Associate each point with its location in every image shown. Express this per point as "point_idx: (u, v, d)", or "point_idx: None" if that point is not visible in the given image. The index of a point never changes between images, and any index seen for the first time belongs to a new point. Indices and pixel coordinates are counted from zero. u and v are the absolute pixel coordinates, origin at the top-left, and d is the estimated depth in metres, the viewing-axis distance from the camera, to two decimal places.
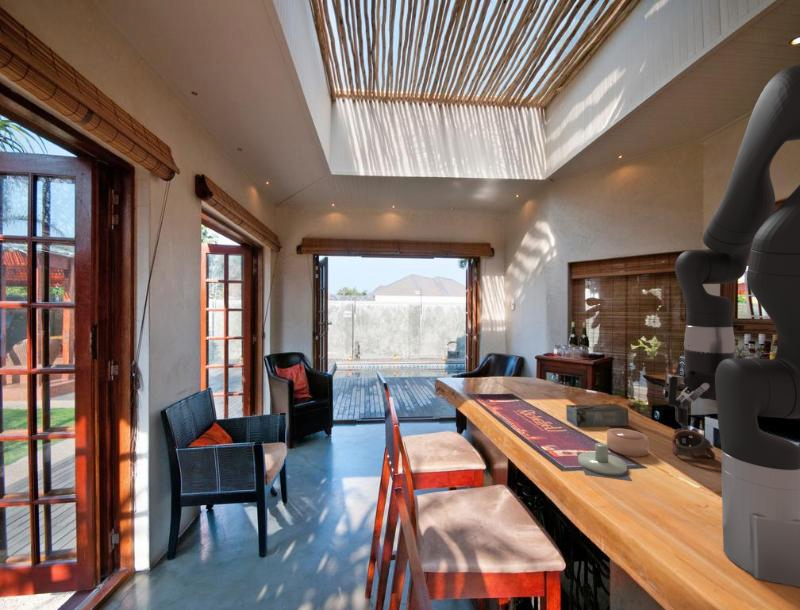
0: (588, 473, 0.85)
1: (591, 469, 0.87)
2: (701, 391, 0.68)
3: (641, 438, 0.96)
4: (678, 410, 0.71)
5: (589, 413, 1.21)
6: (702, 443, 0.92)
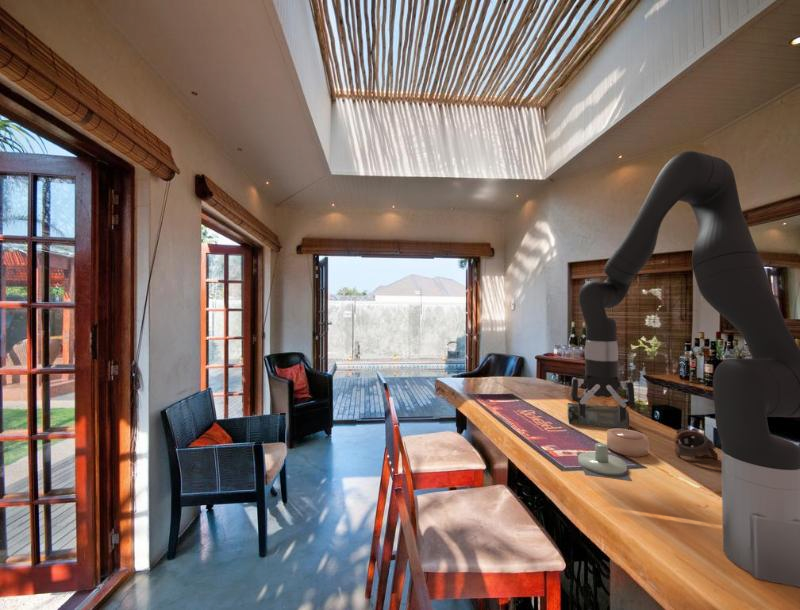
0: (588, 473, 0.85)
1: (591, 469, 0.87)
2: (594, 390, 0.89)
3: (641, 438, 0.96)
4: (579, 405, 0.91)
5: None
6: (705, 443, 0.91)
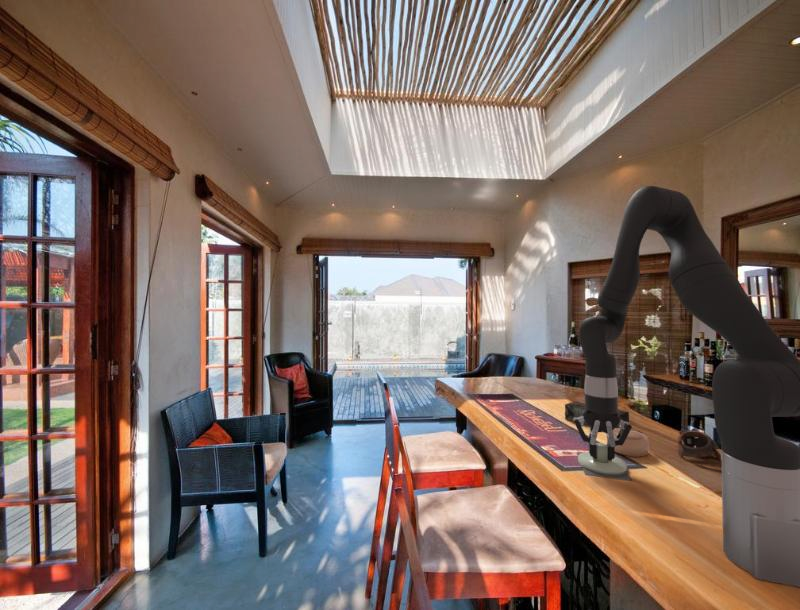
0: (588, 473, 0.85)
1: (591, 469, 0.87)
2: (597, 427, 0.89)
3: (641, 438, 0.96)
4: (590, 446, 0.90)
5: (577, 409, 1.25)
6: (708, 444, 0.91)
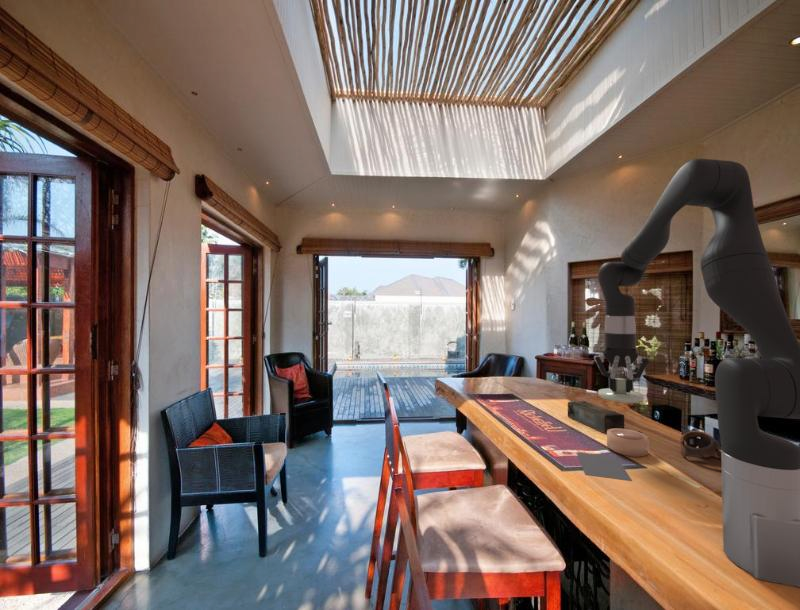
0: (588, 473, 0.85)
1: (611, 399, 0.95)
2: (617, 362, 0.97)
3: (641, 438, 0.96)
4: (610, 380, 0.99)
5: (575, 407, 1.28)
6: (711, 444, 0.91)
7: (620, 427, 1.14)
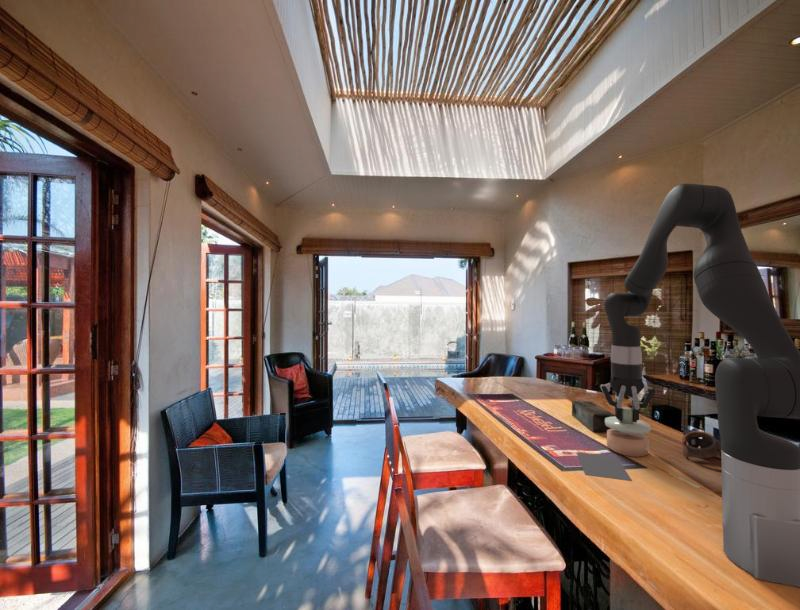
0: (588, 473, 0.85)
1: (618, 429, 0.96)
2: (623, 392, 0.98)
3: (641, 438, 0.96)
4: (616, 409, 1.00)
5: (576, 406, 1.29)
6: (714, 444, 0.90)
7: (611, 428, 1.14)
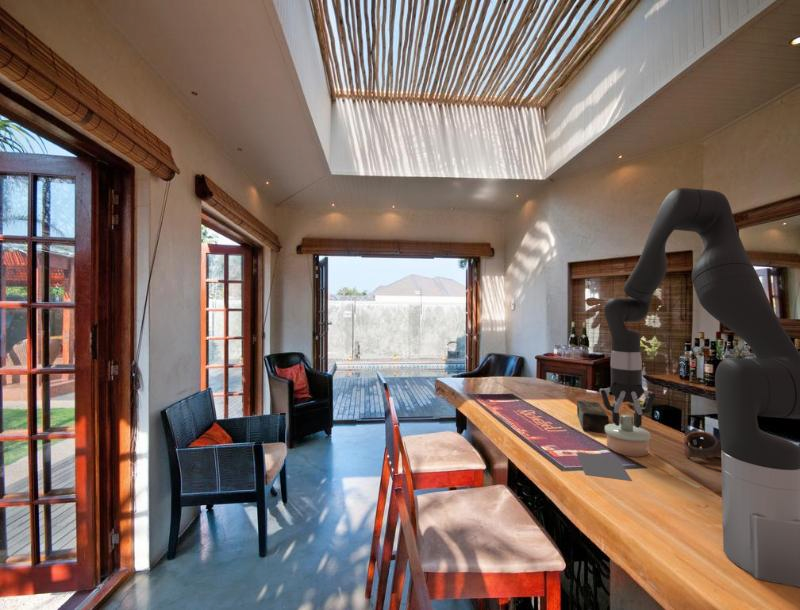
0: (588, 473, 0.85)
1: (618, 436, 0.96)
2: (622, 397, 0.98)
3: None
4: (613, 414, 1.00)
5: (578, 406, 1.30)
6: (716, 445, 0.90)
7: (602, 427, 1.14)
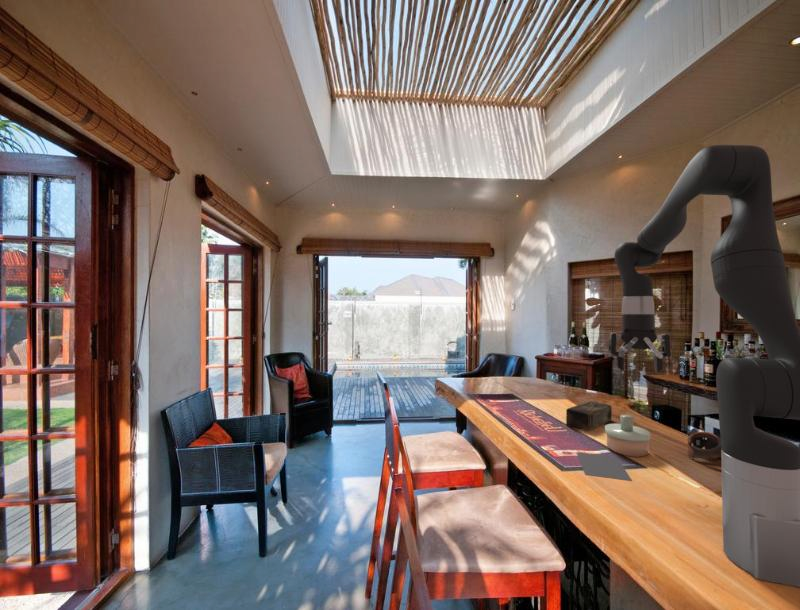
0: (588, 473, 0.85)
1: (618, 437, 0.96)
2: (632, 343, 0.95)
3: None
4: (617, 358, 0.97)
5: None
6: (719, 445, 0.90)
7: (581, 424, 1.17)
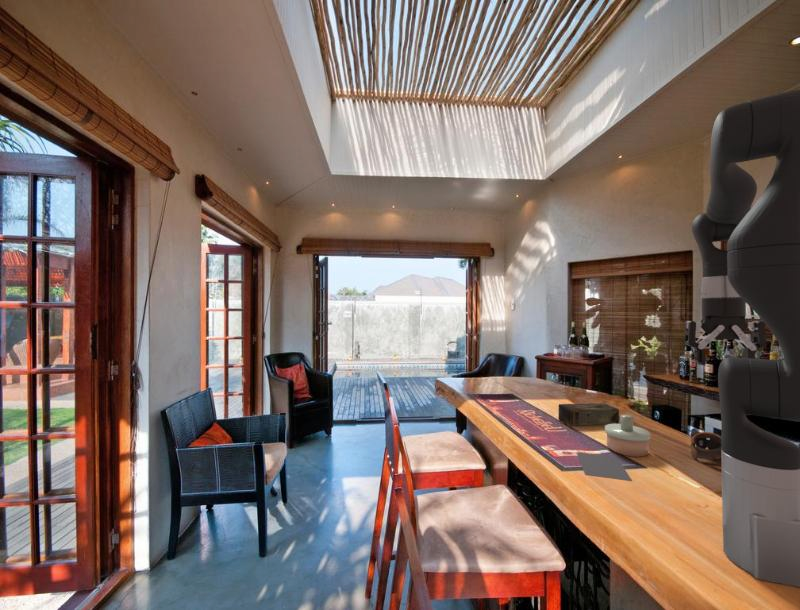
0: (588, 473, 0.85)
1: (618, 437, 0.96)
2: (717, 332, 0.79)
3: None
4: (697, 351, 0.81)
5: None
6: None
7: (565, 419, 1.23)
